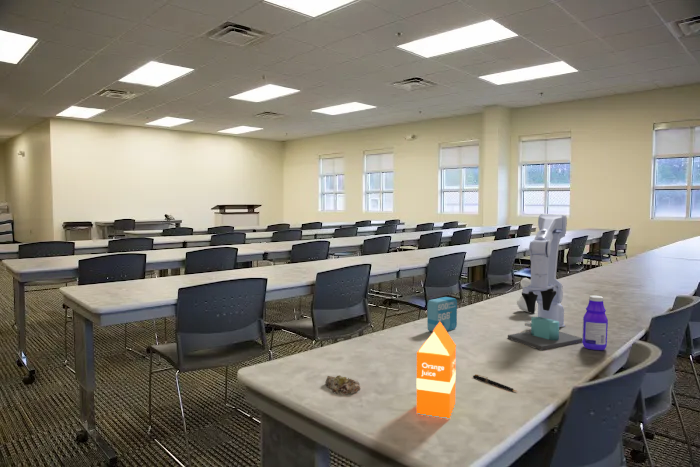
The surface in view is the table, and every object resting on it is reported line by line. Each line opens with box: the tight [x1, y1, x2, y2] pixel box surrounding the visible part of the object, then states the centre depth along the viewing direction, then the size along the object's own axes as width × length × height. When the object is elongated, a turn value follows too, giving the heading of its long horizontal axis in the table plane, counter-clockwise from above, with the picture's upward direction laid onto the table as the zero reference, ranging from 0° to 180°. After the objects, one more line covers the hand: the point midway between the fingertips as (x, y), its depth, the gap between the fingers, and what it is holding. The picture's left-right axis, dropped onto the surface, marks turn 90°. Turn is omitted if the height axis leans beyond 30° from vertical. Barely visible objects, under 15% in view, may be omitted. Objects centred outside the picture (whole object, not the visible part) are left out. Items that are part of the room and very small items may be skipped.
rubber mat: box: [507, 330, 582, 351], centre depth 165 cm, size 20×15×1 cm
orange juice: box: [416, 322, 457, 419], centre depth 110 cm, size 8×9×20 cm
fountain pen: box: [472, 374, 519, 393], centre depth 125 cm, size 14×1×2 cm, turn 38°
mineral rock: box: [324, 375, 361, 395], centre depth 124 cm, size 11×4×8 cm
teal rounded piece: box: [524, 316, 560, 340], centre depth 166 cm, size 4×12×6 cm, turn 35°
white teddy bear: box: [516, 277, 538, 314], centre depth 205 cm, size 10×11×15 cm
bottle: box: [581, 294, 609, 351], centre depth 155 cm, size 7×6×17 cm
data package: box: [426, 296, 458, 333], centre depth 178 cm, size 12×4×12 cm, turn 129°
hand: (538, 311), depth 168 cm, fingers open, 7 cm apart
